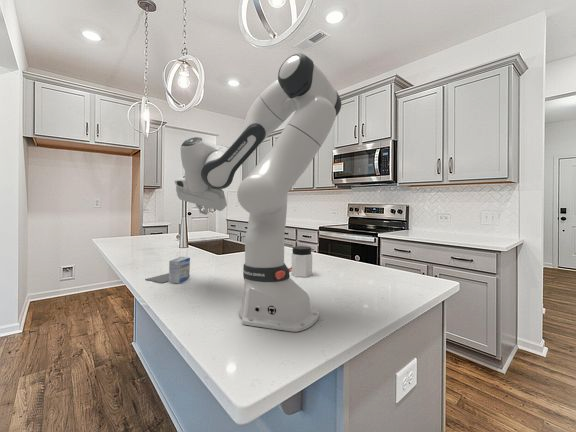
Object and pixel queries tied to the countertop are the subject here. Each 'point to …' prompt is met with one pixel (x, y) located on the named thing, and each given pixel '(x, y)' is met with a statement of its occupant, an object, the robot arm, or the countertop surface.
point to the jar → (301, 261)
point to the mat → (160, 278)
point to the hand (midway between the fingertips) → (204, 213)
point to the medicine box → (179, 269)
